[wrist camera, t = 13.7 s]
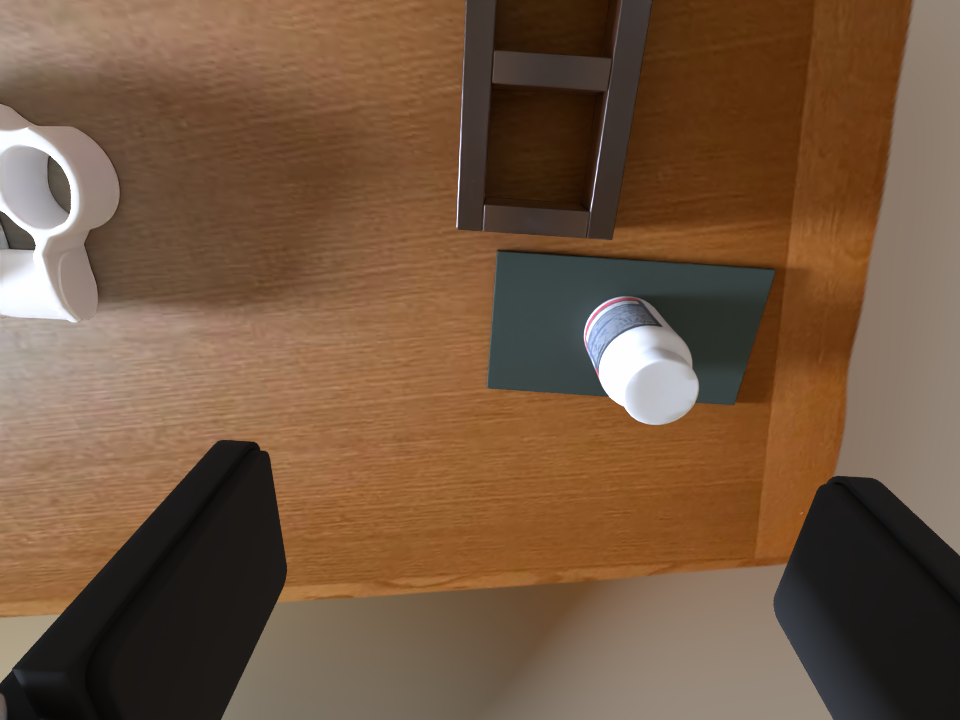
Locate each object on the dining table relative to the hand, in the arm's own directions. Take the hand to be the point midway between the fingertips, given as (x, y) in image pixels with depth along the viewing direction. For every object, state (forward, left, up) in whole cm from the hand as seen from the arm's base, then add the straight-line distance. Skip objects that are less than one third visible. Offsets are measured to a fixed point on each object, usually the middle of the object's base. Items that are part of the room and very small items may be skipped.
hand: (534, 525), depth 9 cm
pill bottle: (-8, +6, -26) cm, 28 cm away
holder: (-1, -9, -26) cm, 28 cm away
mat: (-8, +6, -26) cm, 28 cm away
